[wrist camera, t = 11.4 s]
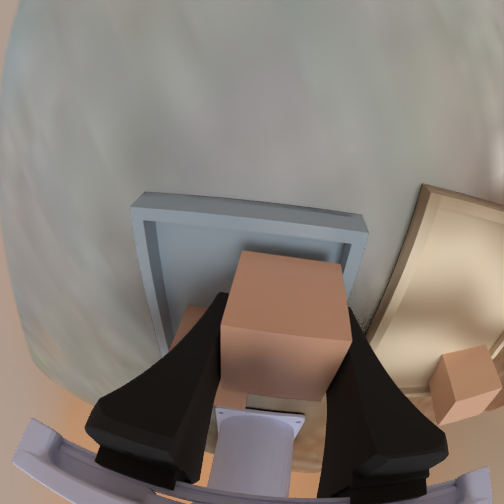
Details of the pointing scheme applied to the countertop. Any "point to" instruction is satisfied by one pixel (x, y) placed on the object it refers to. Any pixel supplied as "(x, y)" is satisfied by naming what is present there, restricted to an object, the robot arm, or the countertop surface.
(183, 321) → the chunk
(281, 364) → the chunk
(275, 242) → the slate dish
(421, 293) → the birch tray
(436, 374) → the chunk
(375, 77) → the countertop surface
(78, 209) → the countertop surface
